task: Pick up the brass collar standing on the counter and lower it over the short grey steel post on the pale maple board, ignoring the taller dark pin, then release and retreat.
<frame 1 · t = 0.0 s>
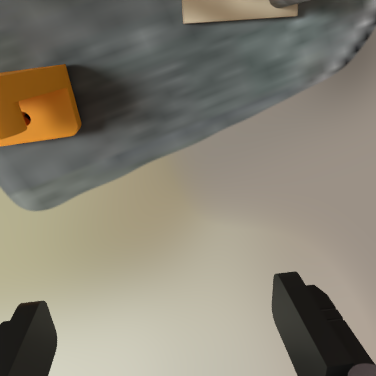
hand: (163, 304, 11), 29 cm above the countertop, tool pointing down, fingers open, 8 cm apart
bracket: (29, 104, 36), on the countertop
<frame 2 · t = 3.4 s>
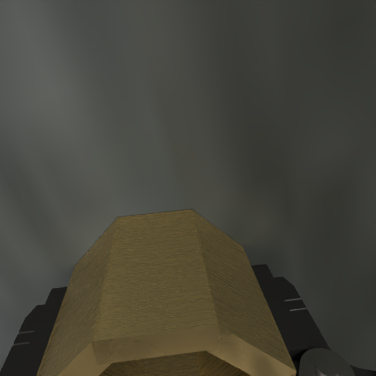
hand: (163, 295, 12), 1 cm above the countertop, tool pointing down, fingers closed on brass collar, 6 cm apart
brass collar: (163, 282, 12), on the countertop, touching gripper
when the fingers open (3 cm above the countertop, at t = 7.6 s): brass collar drops 1 cm, resting on maple board.
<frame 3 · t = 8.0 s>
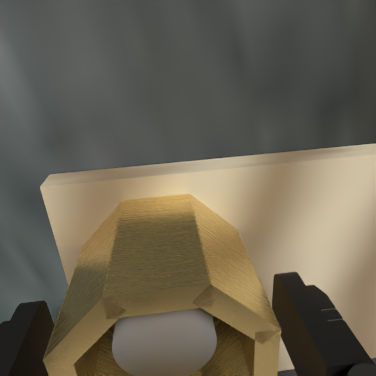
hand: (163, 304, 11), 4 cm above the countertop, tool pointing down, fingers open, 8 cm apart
maple board: (247, 271, 15), on the countertop
brass collar: (164, 262, 13), point 1 cm above the countertop, touching maple board
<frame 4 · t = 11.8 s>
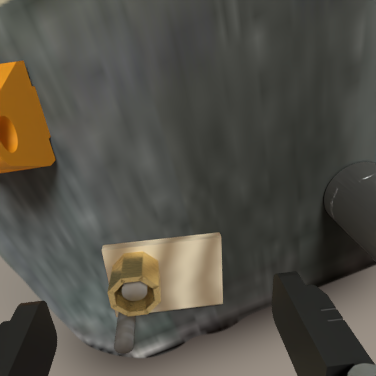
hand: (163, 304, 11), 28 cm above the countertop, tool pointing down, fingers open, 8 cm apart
maple board: (166, 273, 46), on the countertop
brass collar: (136, 270, 44), point 1 cm above the countertop, touching maple board
bracket: (10, 116, 35), on the countertop
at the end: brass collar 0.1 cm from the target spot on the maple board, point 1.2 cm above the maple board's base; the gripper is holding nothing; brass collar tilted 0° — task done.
